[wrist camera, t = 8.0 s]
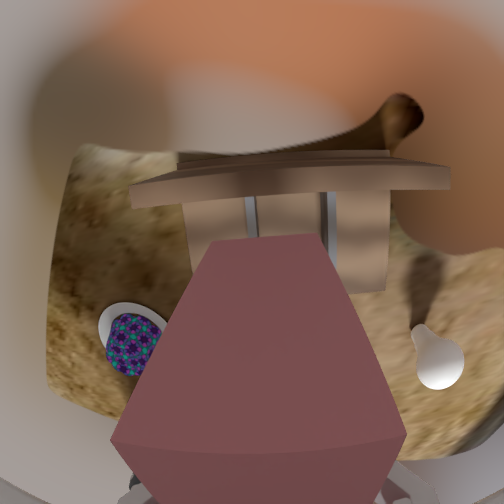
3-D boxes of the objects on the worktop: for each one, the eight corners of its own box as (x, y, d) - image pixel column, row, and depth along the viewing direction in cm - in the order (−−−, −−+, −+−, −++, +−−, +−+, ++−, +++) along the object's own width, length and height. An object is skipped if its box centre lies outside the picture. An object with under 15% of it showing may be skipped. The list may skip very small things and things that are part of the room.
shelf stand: (382, 286, 35) (426, 351, 22) (199, 299, 36) (170, 370, 24) (385, 149, 29) (450, 157, 17) (179, 162, 31) (126, 175, 19)
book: (314, 432, 16) (326, 570, 7) (246, 436, 16) (233, 572, 7) (316, 232, 12) (406, 434, 3) (211, 241, 12) (110, 440, 3)
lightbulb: (406, 307, 36) (442, 358, 25) (441, 310, 36) (481, 358, 25) (390, 345, 38) (418, 401, 27) (425, 347, 38) (456, 398, 27)
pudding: (90, 299, 38) (71, 318, 33) (169, 298, 37) (156, 321, 32) (115, 367, 42) (101, 389, 37) (187, 372, 41) (179, 397, 36)
